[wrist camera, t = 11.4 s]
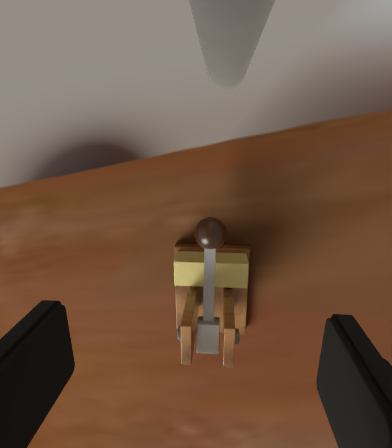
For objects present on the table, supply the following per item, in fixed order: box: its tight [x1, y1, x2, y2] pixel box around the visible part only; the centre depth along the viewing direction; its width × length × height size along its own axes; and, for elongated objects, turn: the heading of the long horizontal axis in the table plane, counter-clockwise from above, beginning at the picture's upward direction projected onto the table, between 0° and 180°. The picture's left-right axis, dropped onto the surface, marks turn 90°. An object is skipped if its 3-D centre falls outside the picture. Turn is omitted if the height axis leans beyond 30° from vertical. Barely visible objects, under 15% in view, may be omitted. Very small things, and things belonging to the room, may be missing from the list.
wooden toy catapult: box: [174, 243, 250, 368], centre depth 32 cm, size 12×9×11 cm
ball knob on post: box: [195, 217, 227, 354], centre depth 28 cm, size 13×3×3 cm, turn 1°
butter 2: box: [215, 252, 249, 288], centre depth 33 cm, size 3×4×3 cm
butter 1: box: [174, 251, 204, 287], centre depth 33 cm, size 3×4×3 cm
